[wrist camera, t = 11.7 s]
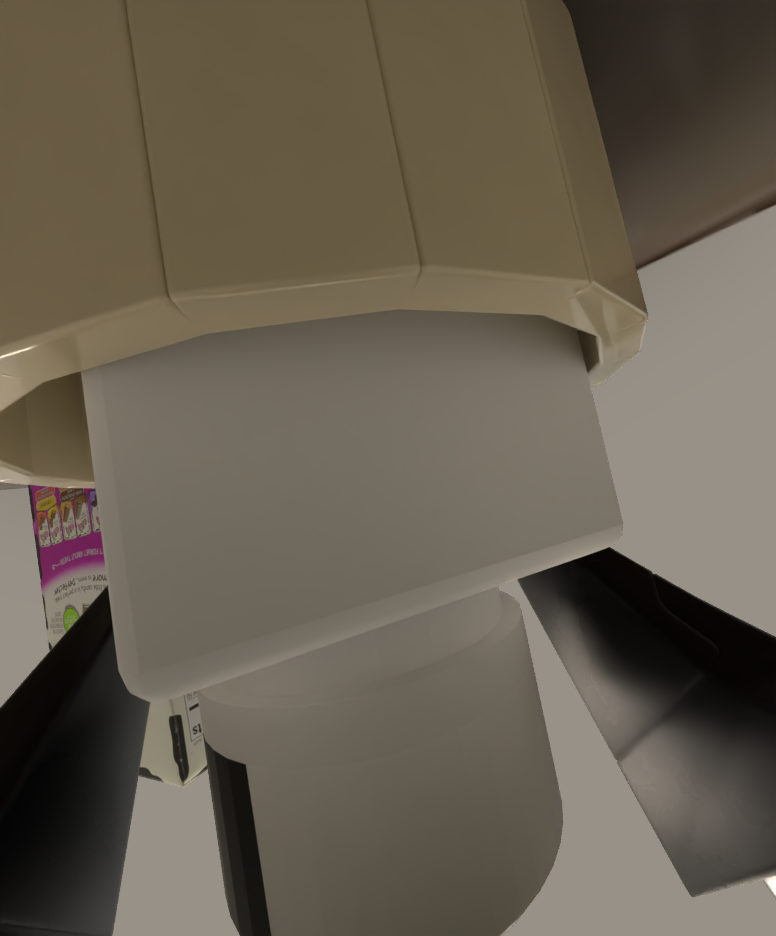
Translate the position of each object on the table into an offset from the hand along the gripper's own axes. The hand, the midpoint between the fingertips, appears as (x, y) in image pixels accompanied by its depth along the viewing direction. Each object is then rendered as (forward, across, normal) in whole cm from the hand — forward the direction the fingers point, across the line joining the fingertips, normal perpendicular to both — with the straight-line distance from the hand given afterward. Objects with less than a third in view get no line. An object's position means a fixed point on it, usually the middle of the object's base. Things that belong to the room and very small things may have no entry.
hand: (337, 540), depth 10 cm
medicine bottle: (+4, 0, -6) cm, 7 cm away
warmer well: (+4, 0, -6) cm, 7 cm away
